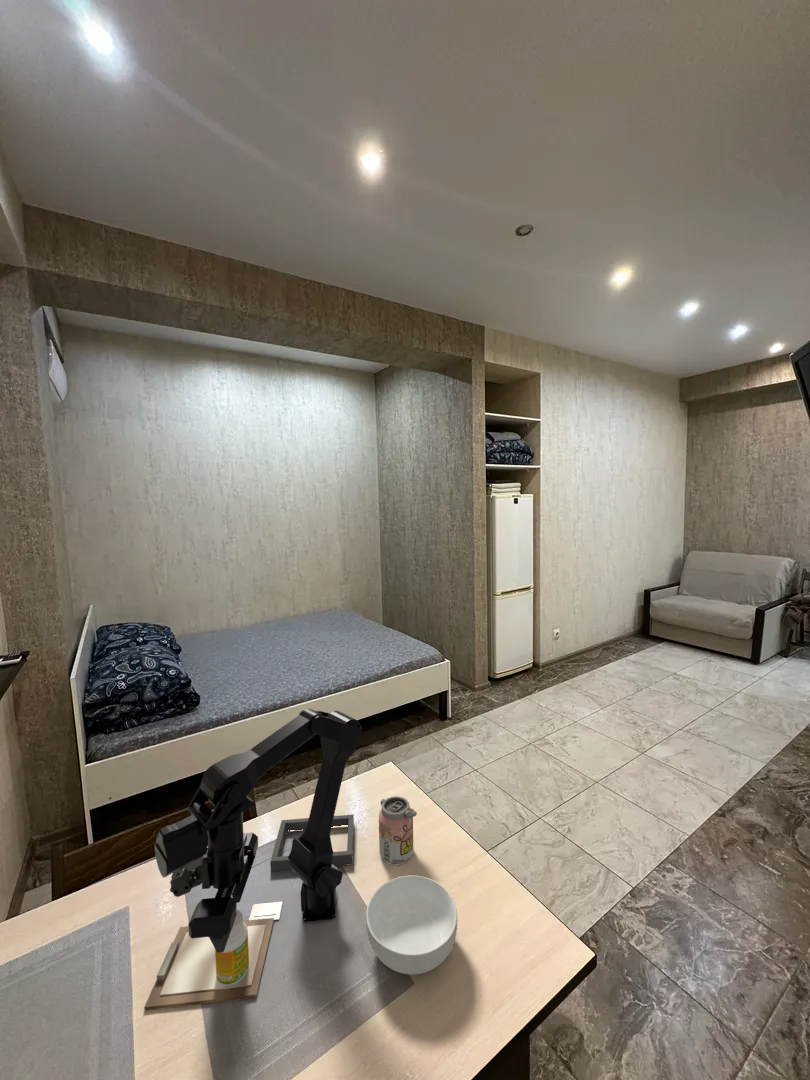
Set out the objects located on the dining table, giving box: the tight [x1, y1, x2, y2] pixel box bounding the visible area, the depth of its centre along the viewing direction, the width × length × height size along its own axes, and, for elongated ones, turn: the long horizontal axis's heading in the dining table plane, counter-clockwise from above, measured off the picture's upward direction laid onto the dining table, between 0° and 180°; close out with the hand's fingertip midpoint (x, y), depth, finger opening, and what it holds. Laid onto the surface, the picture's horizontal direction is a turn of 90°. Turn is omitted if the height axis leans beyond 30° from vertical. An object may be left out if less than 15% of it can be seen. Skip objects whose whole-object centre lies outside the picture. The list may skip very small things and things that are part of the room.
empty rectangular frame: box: [270, 813, 355, 873], centre depth 107 cm, size 18×13×2 cm
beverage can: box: [378, 795, 418, 865], centre depth 104 cm, size 9×8×12 cm
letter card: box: [248, 901, 283, 922], centre depth 89 cm, size 6×4×1 cm, turn 95°
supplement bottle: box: [215, 909, 249, 987], centre depth 77 cm, size 5×5×10 cm
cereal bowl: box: [365, 874, 458, 976], centre depth 82 cm, size 17×17×7 cm
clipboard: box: [143, 918, 275, 1011], centre depth 80 cm, size 18×14×2 cm
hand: (229, 925), depth 76 cm, fingers open, 9 cm apart
